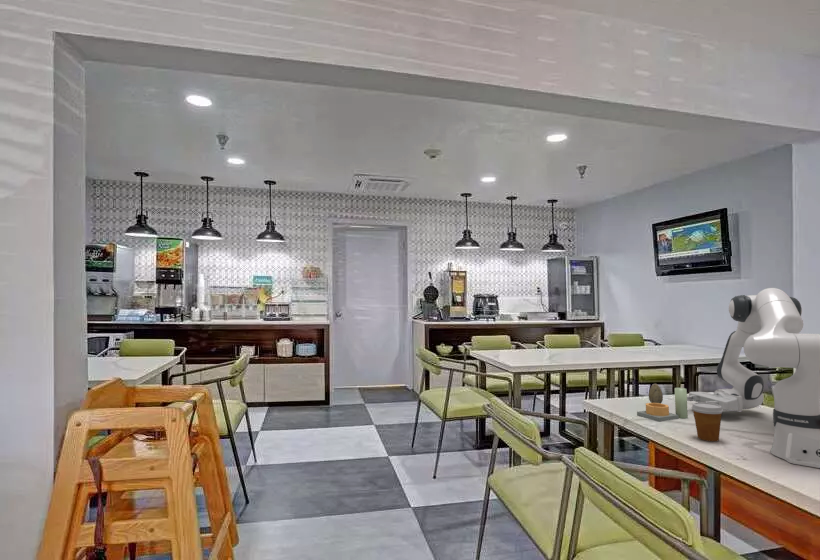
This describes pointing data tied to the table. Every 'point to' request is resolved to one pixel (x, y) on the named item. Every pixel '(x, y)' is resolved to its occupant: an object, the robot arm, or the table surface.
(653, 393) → the decorative egg
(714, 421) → the disposable coffee cup
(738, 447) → the table surface
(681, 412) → the pale green cylinder
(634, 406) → the table surface
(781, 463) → the table surface
